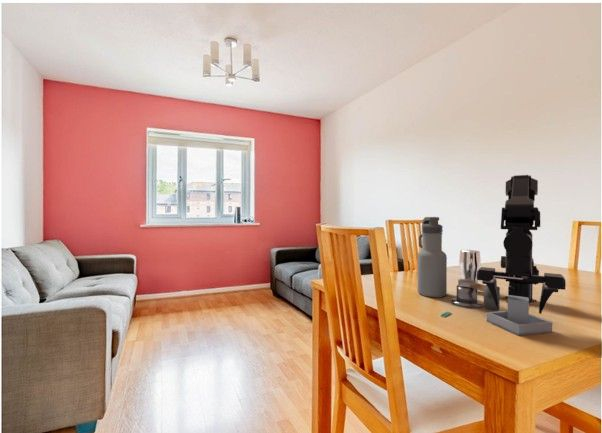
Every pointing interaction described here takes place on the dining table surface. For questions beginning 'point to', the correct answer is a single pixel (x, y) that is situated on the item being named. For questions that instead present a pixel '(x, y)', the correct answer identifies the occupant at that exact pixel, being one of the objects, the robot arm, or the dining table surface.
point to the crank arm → (488, 297)
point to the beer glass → (469, 264)
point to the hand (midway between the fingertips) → (518, 309)
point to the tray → (533, 327)
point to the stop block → (518, 309)
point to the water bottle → (432, 260)
